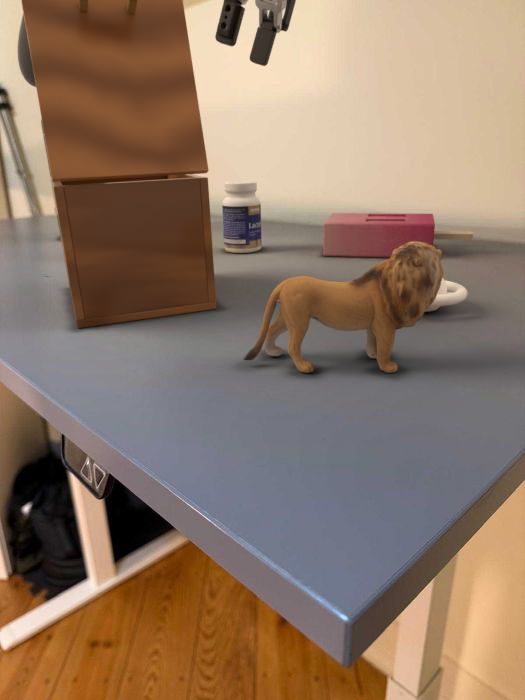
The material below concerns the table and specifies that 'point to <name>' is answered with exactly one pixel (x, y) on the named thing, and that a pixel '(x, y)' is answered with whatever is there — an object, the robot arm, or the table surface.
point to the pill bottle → (241, 217)
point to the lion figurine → (356, 304)
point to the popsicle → (380, 233)
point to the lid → (115, 88)
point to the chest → (136, 247)
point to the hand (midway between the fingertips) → (242, 54)
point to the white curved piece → (448, 295)
